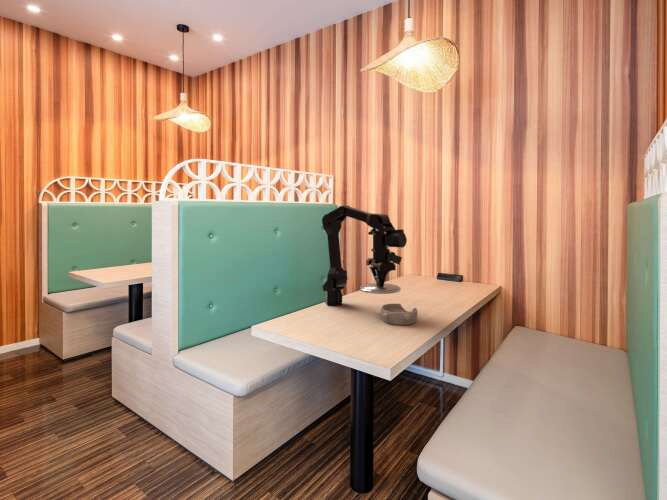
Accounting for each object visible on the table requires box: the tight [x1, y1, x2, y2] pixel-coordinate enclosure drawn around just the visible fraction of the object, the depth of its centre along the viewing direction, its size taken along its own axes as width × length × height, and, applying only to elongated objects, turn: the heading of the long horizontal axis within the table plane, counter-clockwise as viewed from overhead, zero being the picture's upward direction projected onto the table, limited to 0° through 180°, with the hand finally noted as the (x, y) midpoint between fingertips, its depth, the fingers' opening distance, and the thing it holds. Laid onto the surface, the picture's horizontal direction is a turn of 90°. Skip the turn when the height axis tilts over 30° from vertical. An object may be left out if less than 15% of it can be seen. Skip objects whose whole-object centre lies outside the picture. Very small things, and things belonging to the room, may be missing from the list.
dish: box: [380, 303, 418, 326], centre depth 141 cm, size 14×14×5 cm
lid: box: [359, 276, 402, 295], centre depth 148 cm, size 16×16×5 cm
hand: (380, 285), depth 149 cm, fingers closed on lid, 3 cm apart
